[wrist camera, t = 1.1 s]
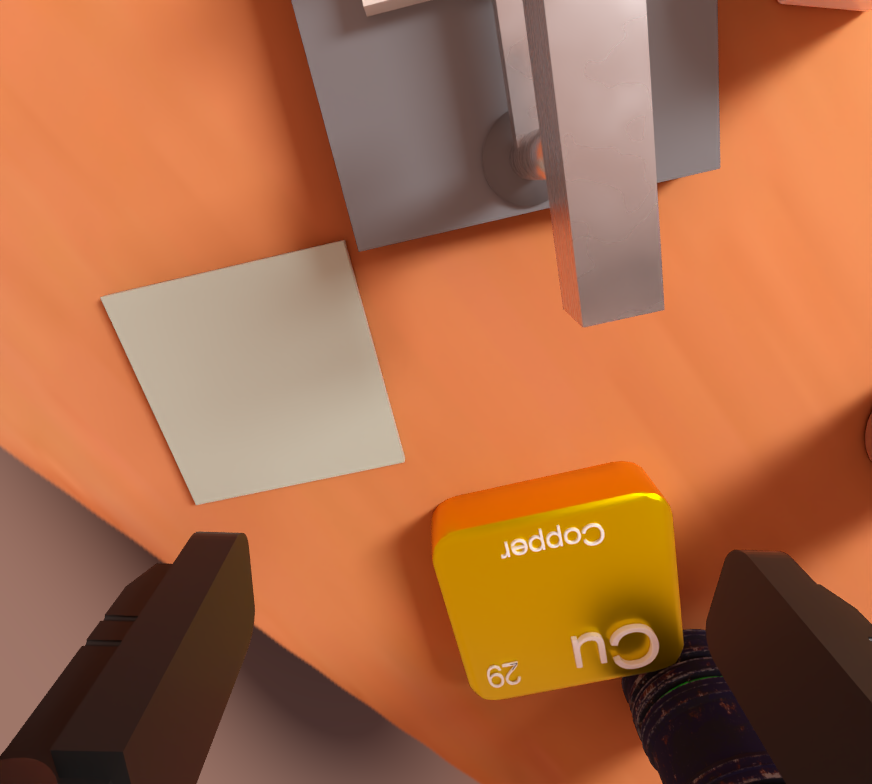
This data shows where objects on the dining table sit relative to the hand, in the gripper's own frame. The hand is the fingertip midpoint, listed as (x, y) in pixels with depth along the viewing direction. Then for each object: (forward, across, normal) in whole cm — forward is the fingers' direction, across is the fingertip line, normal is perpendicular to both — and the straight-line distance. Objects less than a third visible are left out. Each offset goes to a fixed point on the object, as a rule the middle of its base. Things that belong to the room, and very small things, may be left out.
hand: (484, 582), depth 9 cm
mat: (+23, +11, +6) cm, 26 cm away
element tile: (+24, -9, +19) cm, 32 cm away
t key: (+20, -3, -9) cm, 22 cm away
